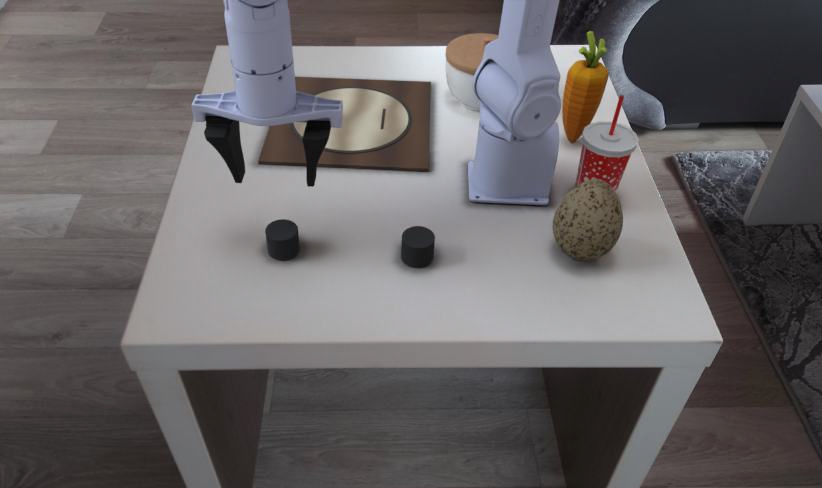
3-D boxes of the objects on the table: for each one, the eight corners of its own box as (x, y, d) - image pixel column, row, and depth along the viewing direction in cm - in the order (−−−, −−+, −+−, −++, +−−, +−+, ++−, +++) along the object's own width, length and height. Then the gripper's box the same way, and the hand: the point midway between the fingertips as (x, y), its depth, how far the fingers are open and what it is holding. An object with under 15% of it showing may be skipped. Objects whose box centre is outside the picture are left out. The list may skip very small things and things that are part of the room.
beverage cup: (626, 212, 83) (661, 108, 73) (577, 217, 82) (606, 113, 72) (606, 181, 87) (636, 79, 77) (559, 186, 86) (584, 84, 76)
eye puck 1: (302, 239, 79) (300, 219, 77) (297, 261, 77) (295, 241, 75) (270, 238, 80) (268, 218, 77) (265, 259, 77) (262, 239, 75)
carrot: (591, 155, 91) (620, 47, 80) (552, 151, 92) (576, 44, 81) (589, 134, 94) (617, 28, 84) (552, 130, 95) (575, 25, 85)
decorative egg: (621, 273, 75) (647, 201, 68) (556, 277, 75) (576, 205, 68) (599, 230, 80) (621, 158, 73) (538, 234, 80) (555, 162, 73)
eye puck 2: (433, 246, 78) (435, 226, 76) (433, 268, 76) (434, 248, 74) (401, 245, 79) (402, 225, 77) (400, 267, 76) (401, 246, 74)
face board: (430, 84, 104) (431, 80, 104) (428, 171, 88) (428, 167, 88) (286, 79, 105) (285, 75, 105) (258, 164, 90) (257, 159, 89)
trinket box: (436, 115, 98) (441, 53, 91) (447, 78, 105) (453, 18, 99) (512, 124, 96) (523, 61, 90) (518, 86, 104) (529, 25, 97)
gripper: (345, 42, 66) (347, 160, 76) (196, 37, 67) (217, 154, 77) (337, 79, 61) (340, 200, 71) (176, 73, 62) (201, 193, 72)
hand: (275, 179), depth 74 cm, fingers open, 7 cm apart
